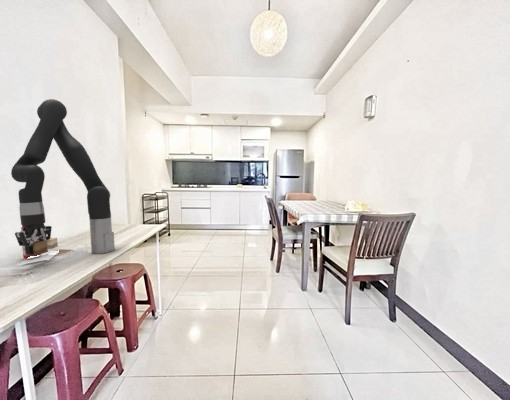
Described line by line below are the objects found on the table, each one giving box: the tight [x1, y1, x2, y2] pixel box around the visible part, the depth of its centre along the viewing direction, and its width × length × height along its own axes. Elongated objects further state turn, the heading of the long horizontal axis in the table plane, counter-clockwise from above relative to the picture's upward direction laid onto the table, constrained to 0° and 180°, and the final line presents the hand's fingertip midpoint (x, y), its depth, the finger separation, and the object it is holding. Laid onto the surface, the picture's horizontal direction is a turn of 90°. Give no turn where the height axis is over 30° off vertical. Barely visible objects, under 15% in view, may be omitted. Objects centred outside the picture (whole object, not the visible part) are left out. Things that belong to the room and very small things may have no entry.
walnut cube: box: [24, 241, 49, 256], centre depth 101 cm, size 5×5×5 cm
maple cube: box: [47, 237, 59, 250], centre depth 128 cm, size 5×5×5 cm
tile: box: [55, 248, 75, 256], centre depth 119 cm, size 8×8×1 cm
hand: (36, 252), depth 101 cm, fingers closed on walnut cube, 5 cm apart
